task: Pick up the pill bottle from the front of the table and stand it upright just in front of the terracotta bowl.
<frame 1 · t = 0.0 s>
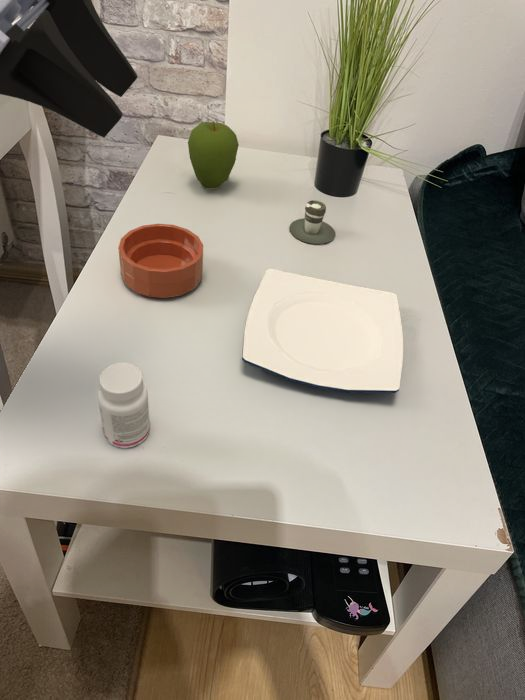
hand: (122, 105, 39), 31 cm above the table, tool tilted 50°, fingers open, 7 cm apart
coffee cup: (310, 231, 88), on the table
bowl: (162, 275, 75), on the table
plate: (322, 339, 69), on the table
apple: (211, 187, 94), on the table
pill bottle: (127, 431, 56), on the table
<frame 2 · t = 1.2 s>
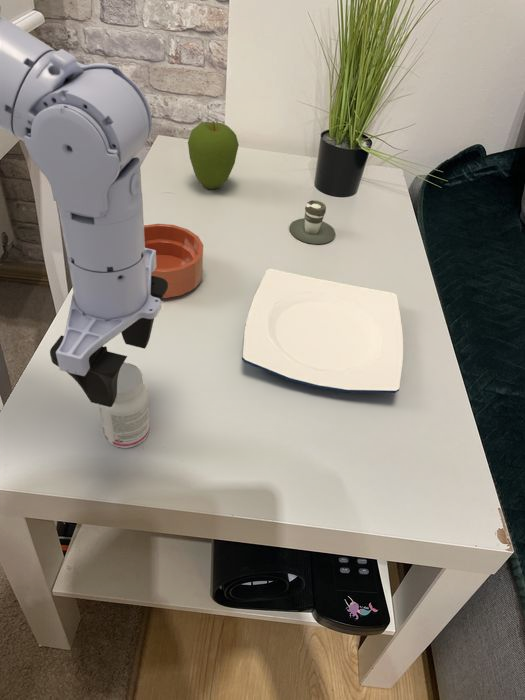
hand: (120, 371, 49), 9 cm above the table, tool pointing down, fingers open, 7 cm apart
nothing on the table moved.
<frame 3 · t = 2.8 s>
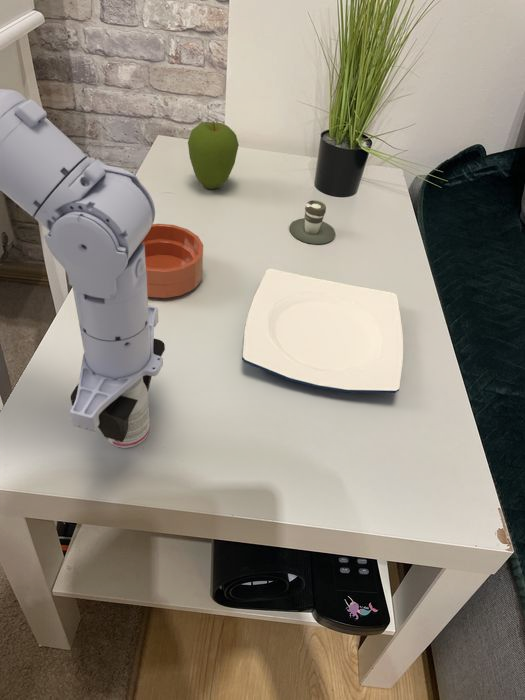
hand: (125, 416, 54), 2 cm above the table, tool pointing down, fingers closed on pill bottle, 5 cm apart
pill bottle: (127, 431, 56), on the table, touching gripper
everything else where it was.
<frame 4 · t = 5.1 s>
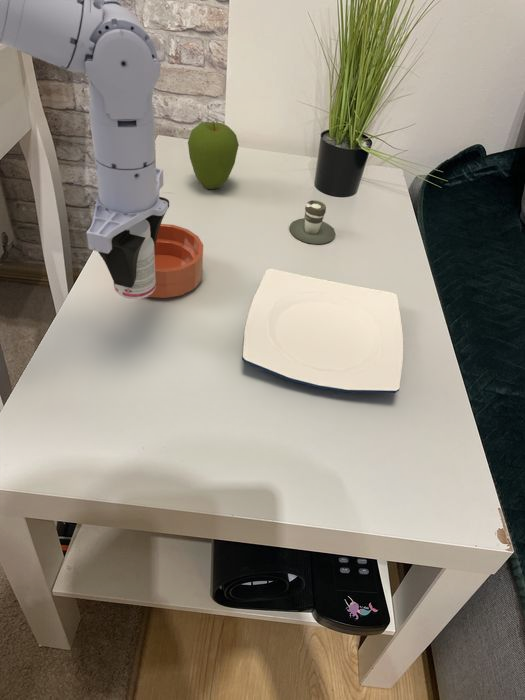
hand: (133, 270, 60), 9 cm above the table, tool pointing down, fingers closed on pill bottle, 5 cm apart
pill bottle: (135, 288, 61), point 7 cm above the table, touching gripper
everything else where it was.
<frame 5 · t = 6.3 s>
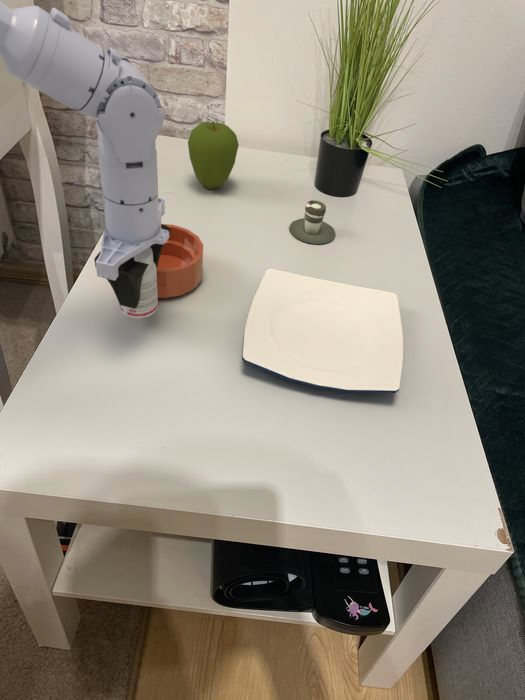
hand: (137, 292, 64), 5 cm above the table, tool pointing down, fingers closed on pill bottle, 5 cm apart
pill bottle: (139, 308, 66), point 2 cm above the table, touching gripper
everything else where it was.
when the fingers open (2 cm above the table, at t = 7.5 s): pill bottle stays where it is, on the table.
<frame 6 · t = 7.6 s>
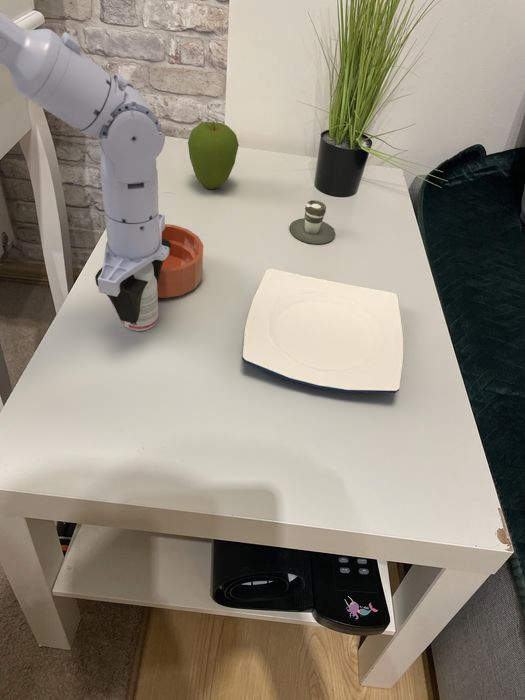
hand: (138, 305, 66), 2 cm above the table, tool pointing down, fingers open, 5 cm apart
pill bottle: (139, 320, 68), on the table
everything else where it was.
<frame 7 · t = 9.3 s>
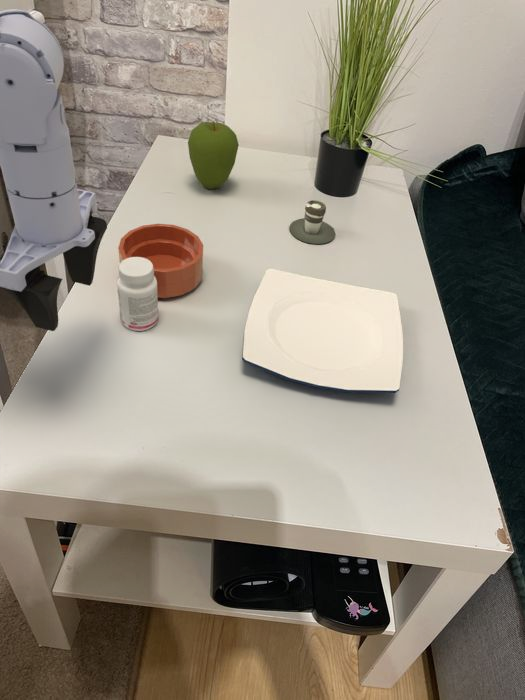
hand: (65, 303, 54), 9 cm above the table, tool pointing down, fingers open, 7 cm apart
nothing on the table moved.
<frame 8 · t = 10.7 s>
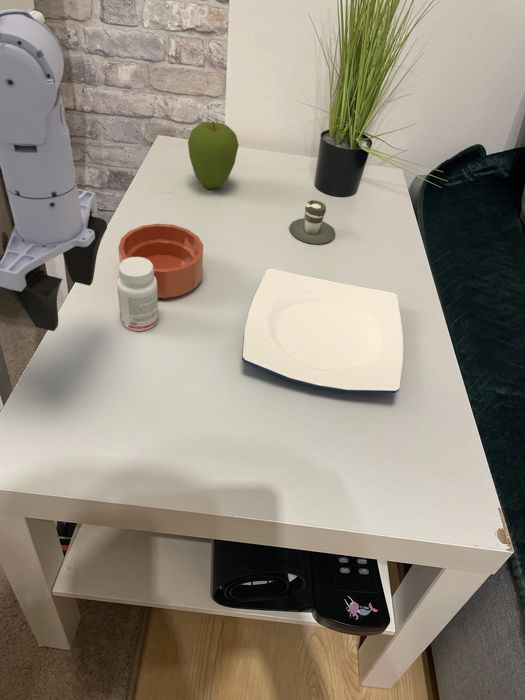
hand: (65, 303, 54), 9 cm above the table, tool pointing down, fingers open, 7 cm apart
nothing on the table moved.
at the end: pill bottle inside the target area on the table beside the bowl (1.0 cm from its centre), on the table; pill bottle tilted 0°; the gripper is holding nothing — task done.
